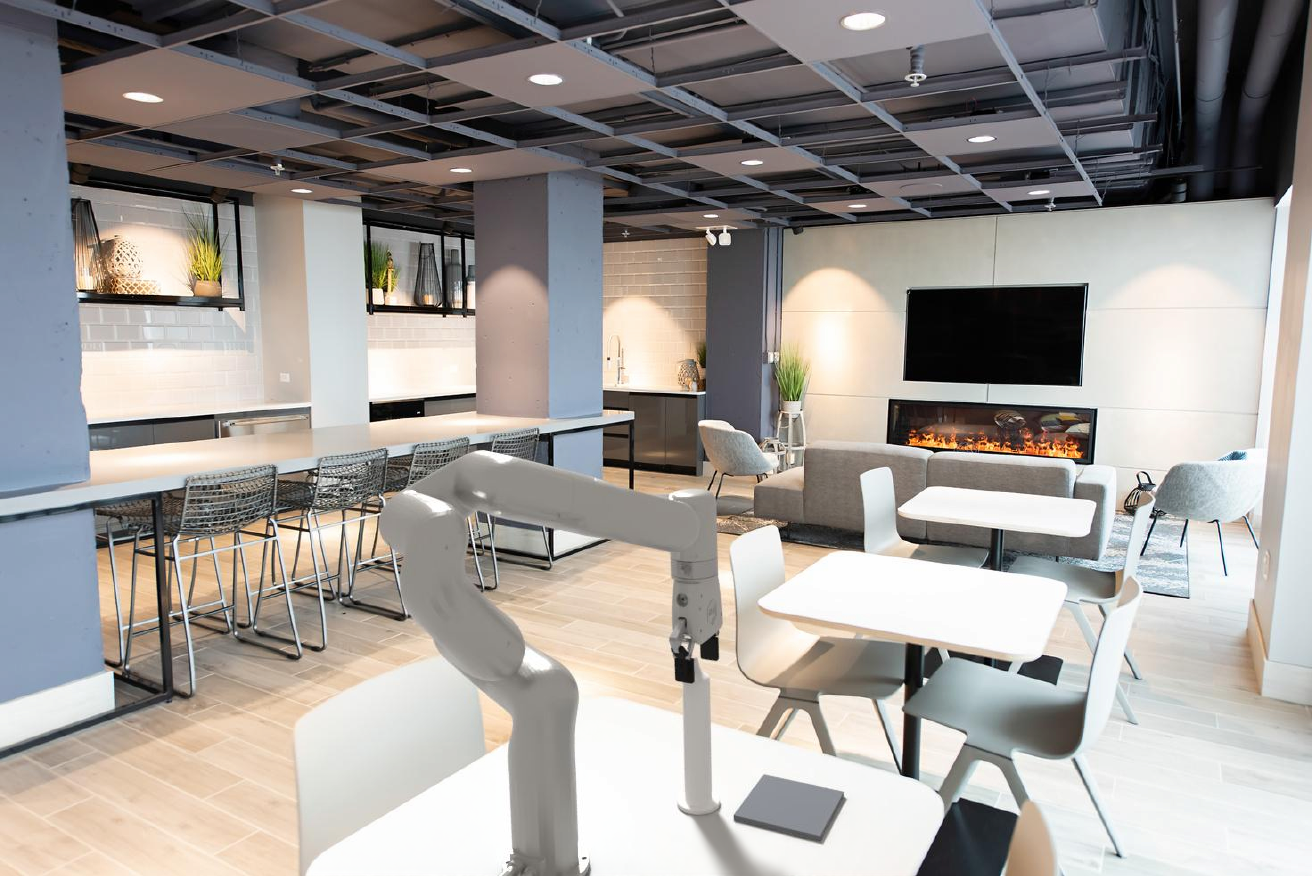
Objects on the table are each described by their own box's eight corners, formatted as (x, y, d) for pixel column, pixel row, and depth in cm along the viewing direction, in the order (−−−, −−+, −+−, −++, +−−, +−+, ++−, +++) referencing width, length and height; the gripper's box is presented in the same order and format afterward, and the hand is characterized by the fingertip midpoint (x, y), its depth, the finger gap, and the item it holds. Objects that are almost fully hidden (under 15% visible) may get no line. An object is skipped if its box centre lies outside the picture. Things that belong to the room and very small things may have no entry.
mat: (819, 841, 129) (819, 836, 129) (733, 819, 135) (733, 814, 135) (844, 796, 142) (844, 791, 141) (763, 778, 148) (763, 774, 148)
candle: (717, 817, 136) (714, 666, 133) (673, 813, 138) (669, 664, 135) (722, 794, 143) (720, 650, 140) (681, 790, 145) (677, 648, 142)
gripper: (693, 584, 127) (696, 695, 129) (736, 555, 142) (739, 654, 144) (648, 579, 130) (652, 687, 132) (695, 551, 145) (698, 648, 147)
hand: (697, 670), depth 138 cm, fingers open, 9 cm apart
